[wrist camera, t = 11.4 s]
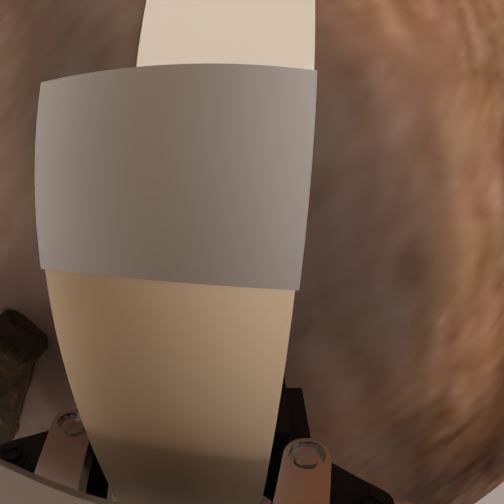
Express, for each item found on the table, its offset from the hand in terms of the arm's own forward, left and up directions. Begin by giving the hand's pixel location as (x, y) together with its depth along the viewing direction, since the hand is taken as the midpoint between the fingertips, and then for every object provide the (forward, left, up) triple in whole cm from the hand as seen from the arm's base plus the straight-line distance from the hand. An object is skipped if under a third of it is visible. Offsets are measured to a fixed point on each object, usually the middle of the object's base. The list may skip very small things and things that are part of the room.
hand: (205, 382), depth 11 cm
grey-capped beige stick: (0, 0, -1) cm, 1 cm away
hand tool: (+17, +10, -6) cm, 20 cm away
